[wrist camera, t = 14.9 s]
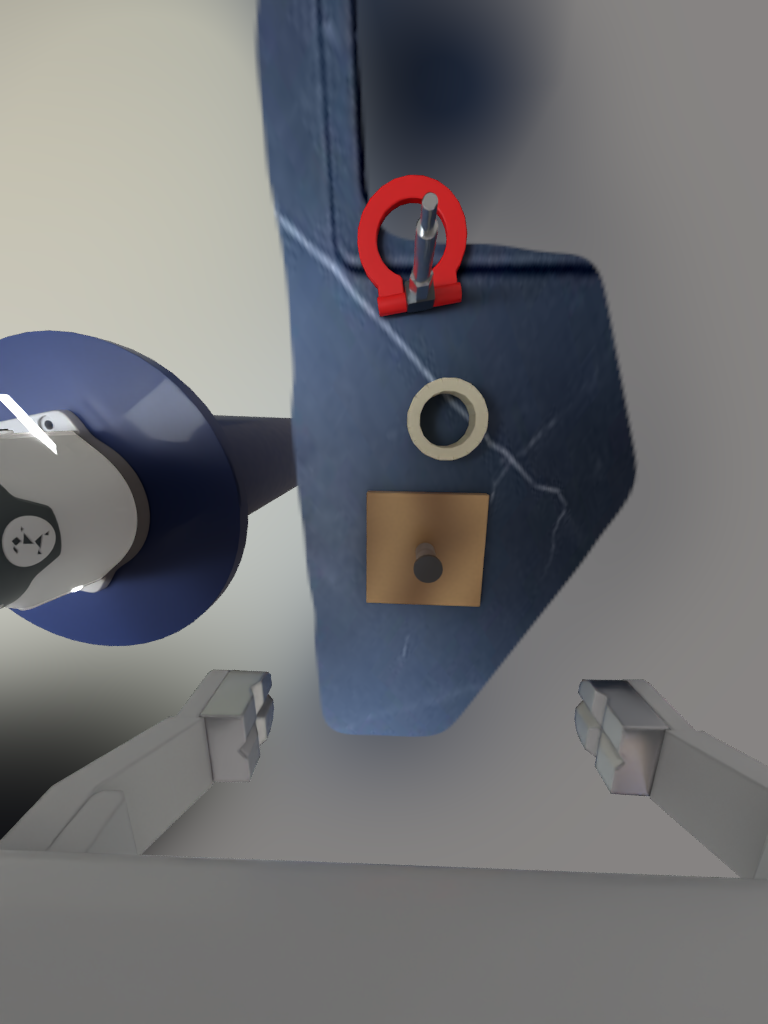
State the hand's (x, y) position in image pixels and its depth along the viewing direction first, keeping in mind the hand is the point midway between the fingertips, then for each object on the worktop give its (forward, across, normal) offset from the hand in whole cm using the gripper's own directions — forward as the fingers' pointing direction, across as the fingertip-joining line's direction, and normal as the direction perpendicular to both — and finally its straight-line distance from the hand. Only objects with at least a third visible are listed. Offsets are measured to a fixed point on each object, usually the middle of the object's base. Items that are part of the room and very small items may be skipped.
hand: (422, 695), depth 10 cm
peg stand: (+25, -2, +5) cm, 25 cm away
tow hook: (+25, 0, -20) cm, 32 cm away
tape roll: (+25, -3, -7) cm, 26 cm away
